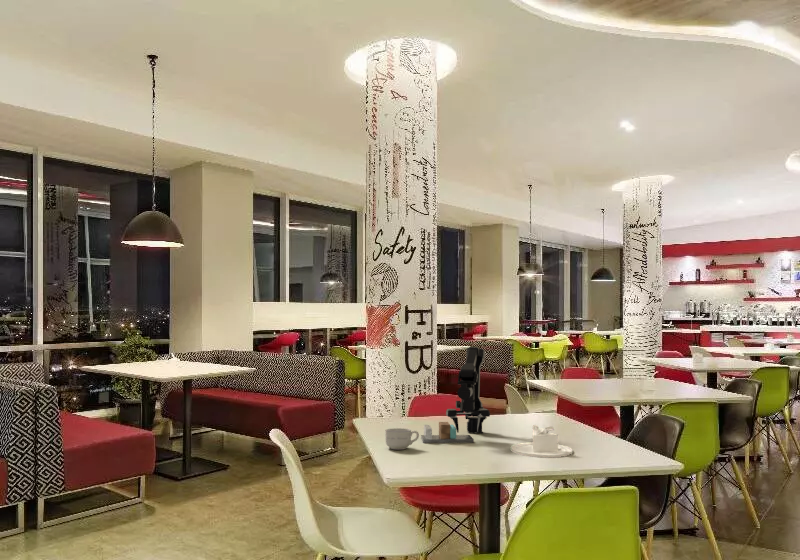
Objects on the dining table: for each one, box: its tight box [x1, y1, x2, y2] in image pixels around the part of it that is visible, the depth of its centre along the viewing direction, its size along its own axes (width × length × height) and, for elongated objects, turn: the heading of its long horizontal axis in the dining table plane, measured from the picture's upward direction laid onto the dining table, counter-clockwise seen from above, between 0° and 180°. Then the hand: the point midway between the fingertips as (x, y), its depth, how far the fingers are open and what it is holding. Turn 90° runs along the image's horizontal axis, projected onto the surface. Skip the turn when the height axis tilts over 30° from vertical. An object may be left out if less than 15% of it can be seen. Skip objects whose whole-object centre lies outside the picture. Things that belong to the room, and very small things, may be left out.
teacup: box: [385, 427, 420, 451], centre depth 266 cm, size 14×11×8 cm
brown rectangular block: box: [438, 421, 451, 439], centre depth 284 cm, size 4×8×6 cm, turn 3°
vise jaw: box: [450, 424, 457, 439], centre depth 284 cm, size 2×10×4 cm, turn 3°
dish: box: [509, 424, 573, 458], centre depth 264 cm, size 25×25×11 cm
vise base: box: [420, 424, 475, 444], centre depth 284 cm, size 22×10×6 cm, turn 93°
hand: (467, 432), depth 285 cm, fingers open, 9 cm apart
